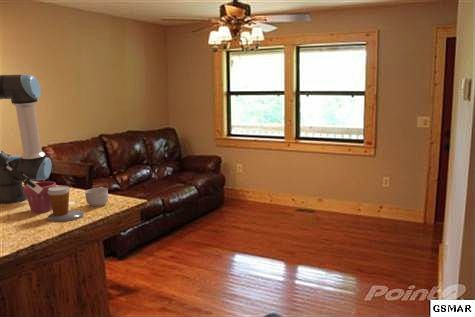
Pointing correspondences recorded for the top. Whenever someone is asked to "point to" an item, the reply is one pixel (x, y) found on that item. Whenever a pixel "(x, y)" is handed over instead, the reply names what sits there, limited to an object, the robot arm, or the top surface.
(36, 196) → the plant pot
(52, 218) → the gray dome
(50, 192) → the disposable coffee cup
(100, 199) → the teacup
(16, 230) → the top surface
